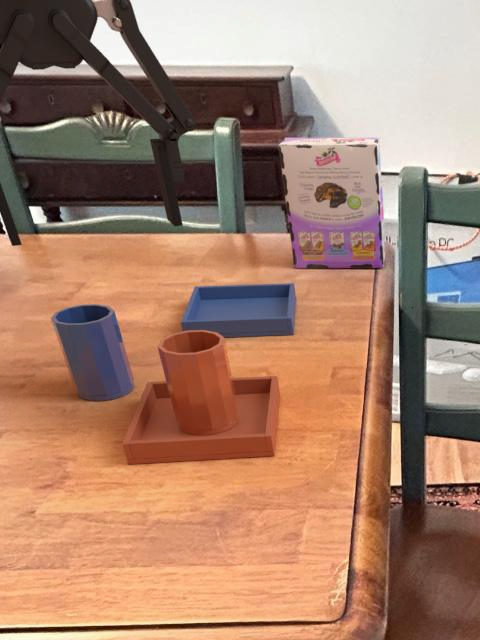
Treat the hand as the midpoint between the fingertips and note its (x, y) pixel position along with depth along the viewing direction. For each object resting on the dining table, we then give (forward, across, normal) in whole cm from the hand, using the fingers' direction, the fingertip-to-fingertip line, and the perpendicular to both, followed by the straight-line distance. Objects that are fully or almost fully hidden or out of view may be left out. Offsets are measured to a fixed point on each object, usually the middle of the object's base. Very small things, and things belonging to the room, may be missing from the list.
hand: (98, 232), depth 66 cm
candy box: (+17, +37, +35) cm, 53 cm away
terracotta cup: (+16, +4, -8) cm, 18 cm away
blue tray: (+16, +16, +19) cm, 30 cm away
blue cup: (+16, -3, +6) cm, 18 cm away
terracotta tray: (+16, +4, -8) cm, 19 cm away
